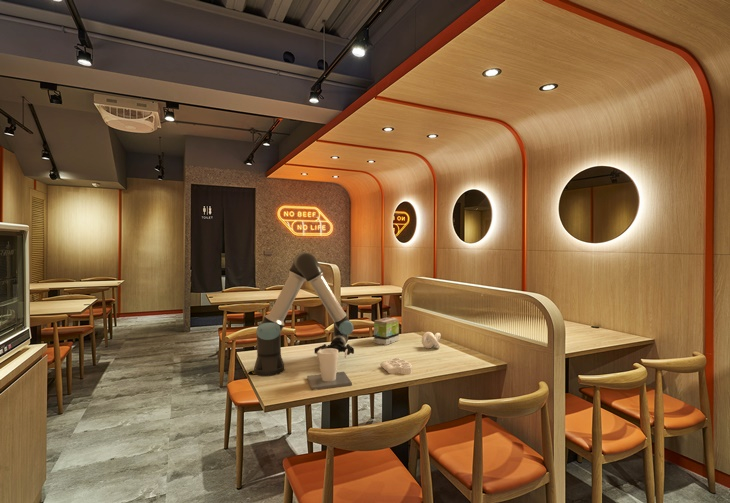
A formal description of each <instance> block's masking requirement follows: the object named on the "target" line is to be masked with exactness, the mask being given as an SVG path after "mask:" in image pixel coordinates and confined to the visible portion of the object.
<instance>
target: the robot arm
mask: <svg viewBox="0 0 730 503" xmlns="http://www.w3.org/2000/svg"><path fill="white" fill-rule="evenodd" d="M288 273H289V276H287V277H288V278H287V279H286V281H285V283H284V285H283V287H282V289H281V291H280V293H279V295H278V297H277V298H276V300H275V301H274V304H273V306H272V307H271V310H270V311H269V314H265V315H264V317H263V318H262V321H261V323H260V324H259V325H258V326H257V327H256V331H255V333H256V353H257V354H256V355H257V356H256V360H255V364H254V366H253V374H255V375H257V376H262V377H264V376H268V375H269V376H274V375H279V374H281V373H283V372H285V370H286V368H285V367H286V366H285V362H284V360H283V357H282V354H281V353H282V352H281V350H282V348H281V346H282V344H281V333H282V331H283V329H284V326H285V319H286V317H287V315H288V314H289V311H290V309H291V308H292V306H293V303H294V301H295V300H296V297H297V296H298V294H299V292H300V290H301V288H302V286H303V284H304V283H305V282H307V283H310V285H311V287H312V288H313V290H314V291H315V293H316V295H317V296H318V298H319V300H320V301H321V302H322V304H323V307H324V308H325V310H326V312H327V313H328V314H329V317H330V318H331V319H332V322H333V339H332V340H331V341H330V344H328V345H327V344H326V343H324V344H322V345H319V346H316V347H315V348H314V354H315V355H316V359H319V357H318V351H319V350H321V349H327V348H333V349H337V350H338V354H340V353H344V359H347V357H348V356H350V354H354V353H355V348H354V347H352V346H351V345H350V343H348V341H349V335H351V334H352V333H353V331H354V324H353V322H351V321H350V319H349V317H348V316H347V312H345V311H344V309H343V307H342V305H341V304H340V302H339V301H338V299H337V297H336V295H335V294H334V292H333V290H332V289H331V287H330V285H329V284H328V282H327V279H326V278H325V277H324V272H323V270H322V268H321V266H320V264H319V262H318V259H317V257H316V256H315V255H313V254H312V253H310V252H305V251H304V252H300V253H298V254H296V255H295V257H294V258H293V261H292V263H291V266H290V268H289V270H288Z"/></svg>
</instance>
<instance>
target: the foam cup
mask: <svg viewBox="0 0 730 503" xmlns="http://www.w3.org/2000/svg"><path fill="white" fill-rule="evenodd" d="M318 357H319V358H318V362H319V368H320V373H321V375H322V380H323V381H333V380H335V379H336V372H338V371H337V369H338V360H339V353H338V350H337V349H333V348H327V349H321V350H319V351H318Z"/></svg>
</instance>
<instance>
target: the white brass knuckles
mask: <svg viewBox="0 0 730 503" xmlns="http://www.w3.org/2000/svg"><path fill="white" fill-rule="evenodd" d="M380 367H381V368H383V370H385V371H386V372H387V373H388V374H392V375H394V374H401V375H411V374H412V373H413V367H414V366H413V365H412V364H411V362H408V360H405V359H402V358H400V357H391V358H390V359H389V360H385V361H382V362H380Z"/></svg>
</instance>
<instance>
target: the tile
mask: <svg viewBox="0 0 730 503" xmlns="http://www.w3.org/2000/svg"><path fill="white" fill-rule="evenodd" d="M306 377H307V378H308V379H307V378H306V379H307V382H308V384H309V387H310V386H311V387H310V389H311V391H314V390H313V389H318V390H324V389H334V388H341V387H348V386H349V387H350V386H353V382H352V381H351V379H350V378H349V376H348V375H347V373H346V372H345V371H336V379H335V380H333V381H323V380H322V375H321V374H319V373H317V374H311V375H306Z"/></svg>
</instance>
